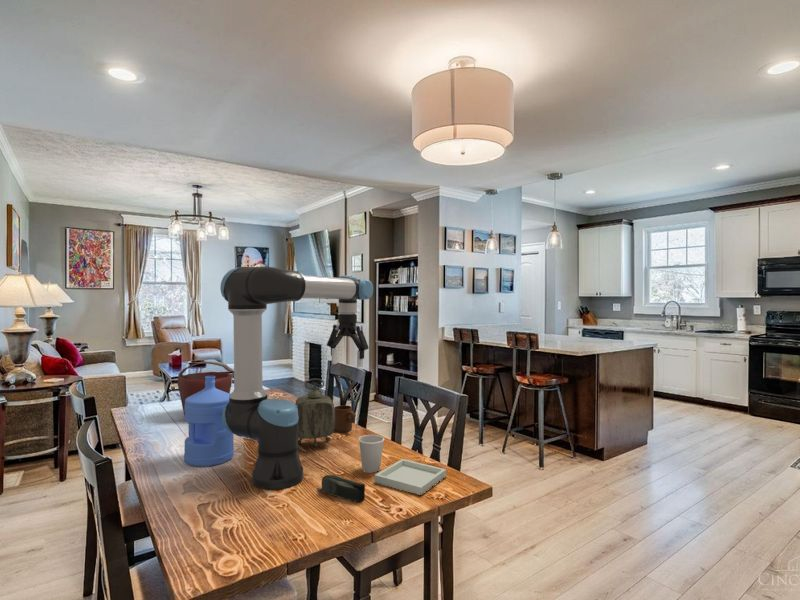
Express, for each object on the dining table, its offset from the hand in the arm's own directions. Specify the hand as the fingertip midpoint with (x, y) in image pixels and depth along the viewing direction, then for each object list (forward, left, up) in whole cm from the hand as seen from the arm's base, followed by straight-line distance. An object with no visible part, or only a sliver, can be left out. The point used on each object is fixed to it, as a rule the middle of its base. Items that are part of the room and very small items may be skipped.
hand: (346, 365), depth 184 cm
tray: (-26, -46, -27) cm, 60 cm away
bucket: (-18, +67, -28) cm, 74 cm away
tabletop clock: (-19, 0, -28) cm, 34 cm away
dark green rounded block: (-46, -35, -28) cm, 65 cm away
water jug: (-49, +20, -28) cm, 60 cm away
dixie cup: (-26, -31, -28) cm, 49 cm away
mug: (+1, +1, -28) cm, 28 cm away
